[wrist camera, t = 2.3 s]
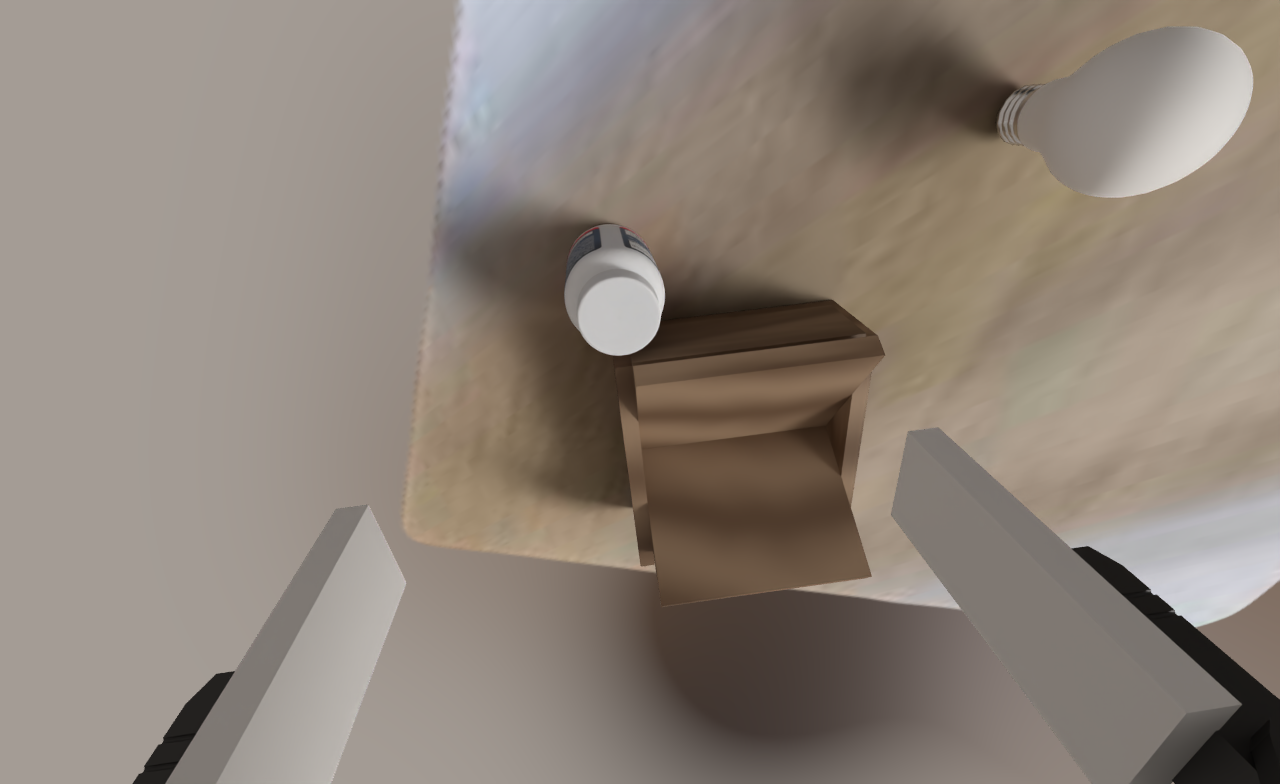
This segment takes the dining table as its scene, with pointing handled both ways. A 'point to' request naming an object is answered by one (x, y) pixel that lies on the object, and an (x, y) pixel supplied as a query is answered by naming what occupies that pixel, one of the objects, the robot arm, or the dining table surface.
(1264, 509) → the dining table surface
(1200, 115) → the light bulb
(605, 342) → the pill bottle
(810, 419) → the wooden box with flaps
